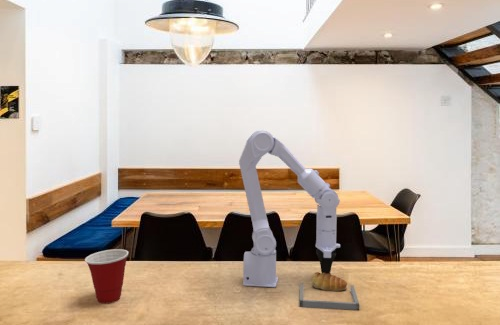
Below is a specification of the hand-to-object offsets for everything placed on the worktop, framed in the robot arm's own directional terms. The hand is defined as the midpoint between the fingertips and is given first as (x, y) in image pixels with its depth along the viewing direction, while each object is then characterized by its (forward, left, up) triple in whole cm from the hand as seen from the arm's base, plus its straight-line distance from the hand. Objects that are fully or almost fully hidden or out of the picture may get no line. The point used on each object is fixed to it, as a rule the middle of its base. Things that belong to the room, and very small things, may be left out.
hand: (325, 274), depth 122 cm
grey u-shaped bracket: (0, -12, -2) cm, 13 cm away
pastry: (0, -4, -2) cm, 5 cm away
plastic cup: (-57, -21, -2) cm, 61 cm away
